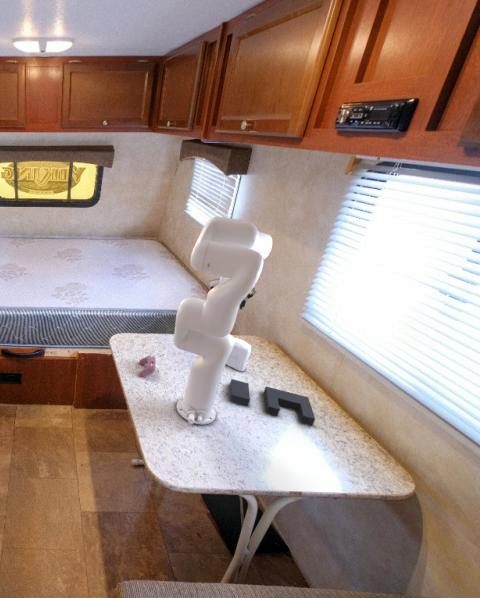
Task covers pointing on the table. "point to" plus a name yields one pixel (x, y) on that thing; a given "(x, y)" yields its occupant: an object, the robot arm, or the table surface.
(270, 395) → the base pad
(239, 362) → the photo printer
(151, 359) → the video game controller
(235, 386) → the pad
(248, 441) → the table surface
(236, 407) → the table surface
